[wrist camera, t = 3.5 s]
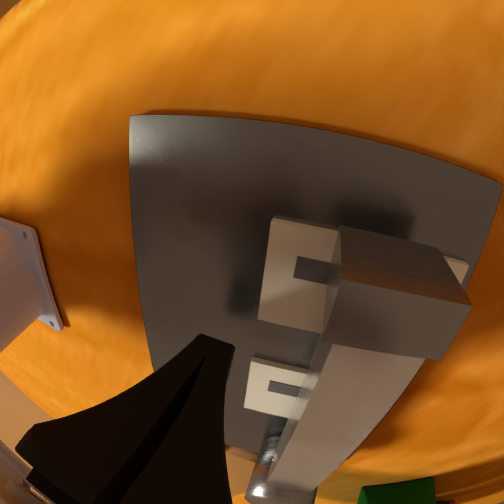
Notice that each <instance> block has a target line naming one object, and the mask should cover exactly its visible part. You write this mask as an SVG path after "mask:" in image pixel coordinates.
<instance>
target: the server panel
mask: <svg viewBox="0 0 504 504" xmlns="http://www.w3.org/2000/svg"><path fill="white" fill-rule="evenodd" d="M129 171H130V199H131V217H132V230H133V242H134V252H135V262H136V271H137V279H138V286H139V293H140V300H141V307H142V313H143V319H144V325H145V331H146V336H147V342H148V347H149V352H150V357H151V361H152V366H153V371H154V372H155V371H157V370H158V369H159V368H161V367H162V366H163V365H164V364H166V363H167V362H168V361H169V360H171V359H172V358H173V357H174V356H176V355H177V354H178V353H179V352H180V351H181V350H183V349H184V348H185V347H186V346H187V345H188V344H189V343H190V342H191V341H192V340H193V339H194V338H195V337H196V336H197V335H198V334H201V333H202V334H204V335H207V336H210V337H213V338H216V339H218V340H221V341H224V342H227V343H230V344H233V345H234V346H235V353H234V357H233V361H232V365H231V369H230V374H229V377H228V380H227V383H226V392H225V404H224V441H225V444H227V445H231V446H234V447H238V448H242V449H246V450H249V451H253V452H257V453H259V450H260V447H261V444H262V442H263V441H264V440H265V439H267V438H269V437H273V436H281V435H282V432H283V430H284V428H285V425H286V423H287V421H288V418H286V417H281V416H277V415H272V414H268V413H264V412H260V411H256V410H252V409H248V408H244V403H245V396H246V390H247V384H248V377H249V371H250V364H251V360H252V357H256V358H260V359H264V360H269V361H273V362H277V363H281V364H286V365H290V366H295V367H300V368H304V369H308V367H309V364H310V362H311V359H312V356H313V353H314V350H315V347H316V345H317V342H318V339H319V336H320V333H316V332H312V331H307V330H302V329H298V328H293V327H289V326H284V325H280V324H275V323H271V322H267V321H263V320H258V319H257V318H258V311H259V304H260V297H261V290H262V283H263V276H264V269H265V262H266V255H267V247H268V240H269V233H270V225H271V220H272V219H273V218H276V219H282V220H287V221H292V222H297V223H302V224H307V225H311V226H316V227H321V228H326V229H331V230H335V231H338V230H339V226H340V225H344V226H349V227H353V228H358V229H362V230H366V231H371V232H375V233H380V234H384V235H388V236H392V237H396V238H401V239H405V240H409V241H413V242H417V243H421V244H425V245H429V246H433V247H436V248H438V249H439V250H440V252H441V253H442V255H443V256H446V257H450V258H454V259H457V260H461V261H465V262H467V264H468V265H469V267H468V270H467V272H466V274H465V277H464V279H463V281H462V283H461V286H462V288H463V290H464V291H465V289H466V287H467V284H468V282H469V280H470V278H471V276H472V273H473V271H474V269H475V266H476V264H477V262H478V259H479V257H480V254H481V252H482V249H483V247H484V244H485V241H486V238H487V236H488V233H489V230H490V227H491V224H492V221H493V218H494V215H495V212H496V209H497V205H498V202H499V198H500V195H501V191H502V187H503V185H502V184H501V183H499V182H497V181H495V180H493V179H490V178H488V177H486V176H483V175H481V174H478V173H476V172H473V171H470V170H468V169H465V168H463V167H460V166H457V165H454V164H451V163H449V162H446V161H443V160H440V159H437V158H434V157H431V156H428V155H424V154H421V153H418V152H415V151H411V150H408V149H404V148H401V147H397V146H394V145H390V144H386V143H382V142H378V141H374V140H370V139H366V138H362V137H357V136H353V135H348V134H343V133H338V132H333V131H328V130H323V129H317V128H312V127H306V126H299V125H293V124H286V123H279V122H271V121H263V120H254V119H244V118H233V117H220V116H203V115H174V114H143V115H130V130H129ZM425 361H426V359H425V360H424V362H425ZM424 362H423V363H422V365H423V364H424ZM422 365H421V366H420V368H421V367H422ZM420 368H419V369H418V371H419V370H420ZM418 371H417V372H416V374H417V373H418ZM416 374H415V375H414V377H415V376H416ZM414 377H413V378H412V380H413V379H414ZM412 380H411V381H412ZM411 381H410V382H409V384H410V383H411ZM409 384H408V385H407V387H408V386H409ZM407 387H406V388H407ZM406 388H405V389H404V391H405V390H406ZM404 391H403V392H404ZM403 392H402V394H403ZM402 394H401V395H402ZM401 395H400V396H399V398H400V397H401ZM399 398H398V399H399ZM398 399H397V400H398ZM397 400H396V402H397ZM396 402H395V403H396ZM395 403H394V404H395ZM394 404H393V405H392V407H393V406H394ZM392 407H391V408H392ZM391 408H390V409H391ZM390 409H389V411H390ZM389 411H388V412H389ZM388 412H387V413H388ZM387 413H386V414H387ZM386 414H385V416H386ZM385 416H384V417H385ZM384 417H383V418H384ZM383 418H382V419H383ZM382 419H381V420H380V422H381V421H382ZM380 422H379V423H380ZM379 423H378V424H379ZM378 424H377V425H378ZM377 425H376V426H375V428H376V427H377ZM375 428H374V429H375ZM374 429H373V430H374ZM373 430H372V431H373ZM372 431H371V432H372ZM371 432H370V433H371ZM370 433H369V435H370ZM369 435H368V436H369ZM368 436H367V437H368ZM367 437H366V438H367ZM366 438H365V439H366ZM365 439H364V440H365ZM364 440H363V441H364ZM363 441H362V442H363ZM362 442H361V443H362ZM361 443H360V445H361ZM360 445H359V446H360ZM359 446H358V447H359ZM358 447H357V448H358ZM357 448H356V449H357ZM356 449H355V450H356ZM355 450H354V451H355ZM354 451H353V452H354ZM353 452H352V453H353ZM352 453H351V454H352ZM351 454H350V455H351ZM350 455H349V456H350ZM349 456H348V457H349ZM348 457H347V458H348ZM347 458H346V459H347ZM346 459H345V460H346ZM345 460H344V461H345ZM344 461H343V462H344ZM343 462H342V463H343ZM342 463H341V464H342ZM341 464H340V465H341ZM340 465H339V466H340ZM339 466H338V467H339Z"/></svg>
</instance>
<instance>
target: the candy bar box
mask: <svg viewBox="0 0 504 504" xmlns="http://www.w3.org/2000/svg"><path fill="white" fill-rule="evenodd" d="M436 504H455V501H444V502H436Z"/></svg>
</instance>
